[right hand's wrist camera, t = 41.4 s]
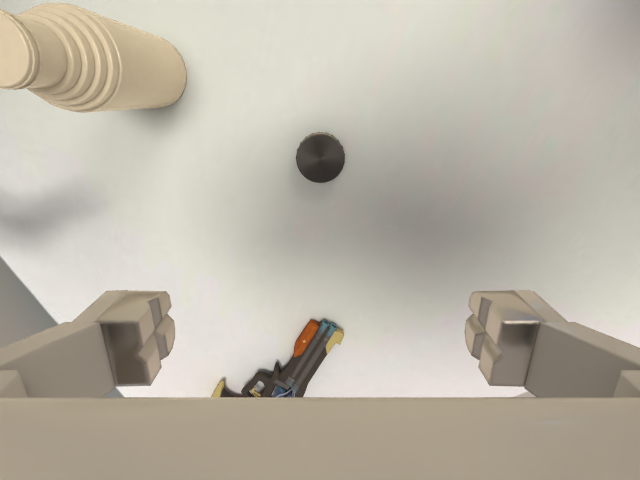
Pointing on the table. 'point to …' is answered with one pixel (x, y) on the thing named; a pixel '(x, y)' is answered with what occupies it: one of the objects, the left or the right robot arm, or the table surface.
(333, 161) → the cap
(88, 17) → the bottle
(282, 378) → the toy gun
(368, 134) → the table surface
